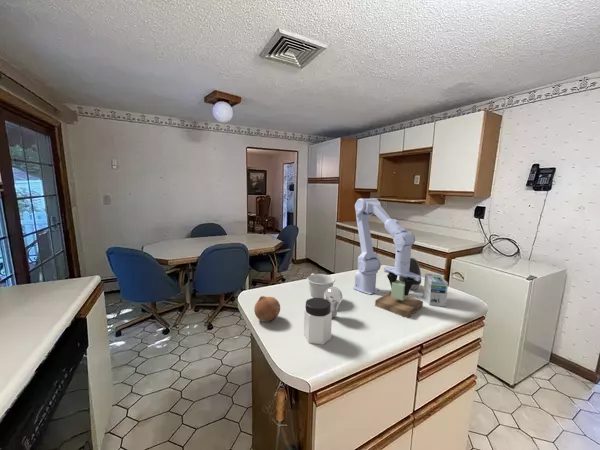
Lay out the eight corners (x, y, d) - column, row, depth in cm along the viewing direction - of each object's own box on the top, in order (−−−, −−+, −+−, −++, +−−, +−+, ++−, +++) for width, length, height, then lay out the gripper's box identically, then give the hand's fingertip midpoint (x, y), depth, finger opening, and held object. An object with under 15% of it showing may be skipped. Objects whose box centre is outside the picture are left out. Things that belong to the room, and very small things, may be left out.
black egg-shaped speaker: (412, 283, 136) (415, 255, 134) (424, 291, 126) (427, 260, 124) (394, 283, 135) (396, 255, 132) (405, 292, 125) (407, 261, 122)
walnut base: (375, 305, 110) (375, 300, 109) (391, 296, 119) (391, 291, 119) (408, 318, 100) (408, 312, 99) (422, 306, 109) (423, 301, 109)
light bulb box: (446, 307, 110) (448, 282, 108) (428, 305, 111) (431, 281, 109) (438, 296, 120) (440, 274, 118) (422, 295, 121) (424, 272, 120)
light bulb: (342, 314, 102) (344, 285, 100) (339, 323, 95) (341, 292, 93) (325, 311, 104) (326, 282, 102) (321, 319, 97) (322, 289, 95)
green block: (390, 296, 109) (391, 283, 108) (396, 293, 112) (397, 280, 111) (402, 300, 105) (403, 286, 104) (407, 297, 109) (409, 283, 108)
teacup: (322, 290, 124) (322, 270, 123) (339, 303, 111) (340, 281, 109) (299, 294, 119) (299, 273, 117) (314, 309, 106) (315, 285, 104)
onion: (257, 326, 97) (246, 302, 97) (277, 313, 102) (267, 290, 102) (267, 329, 89) (255, 302, 89) (288, 315, 94) (277, 289, 94)
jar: (315, 327, 92) (316, 294, 90) (334, 336, 87) (336, 302, 85) (298, 338, 85) (299, 303, 84) (319, 348, 80) (320, 311, 78)
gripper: (381, 259, 109) (379, 290, 111) (416, 267, 99) (413, 301, 101) (389, 256, 114) (387, 285, 116) (423, 263, 103) (420, 296, 106)
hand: (399, 292), depth 109 cm, fingers closed on green block, 5 cm apart
